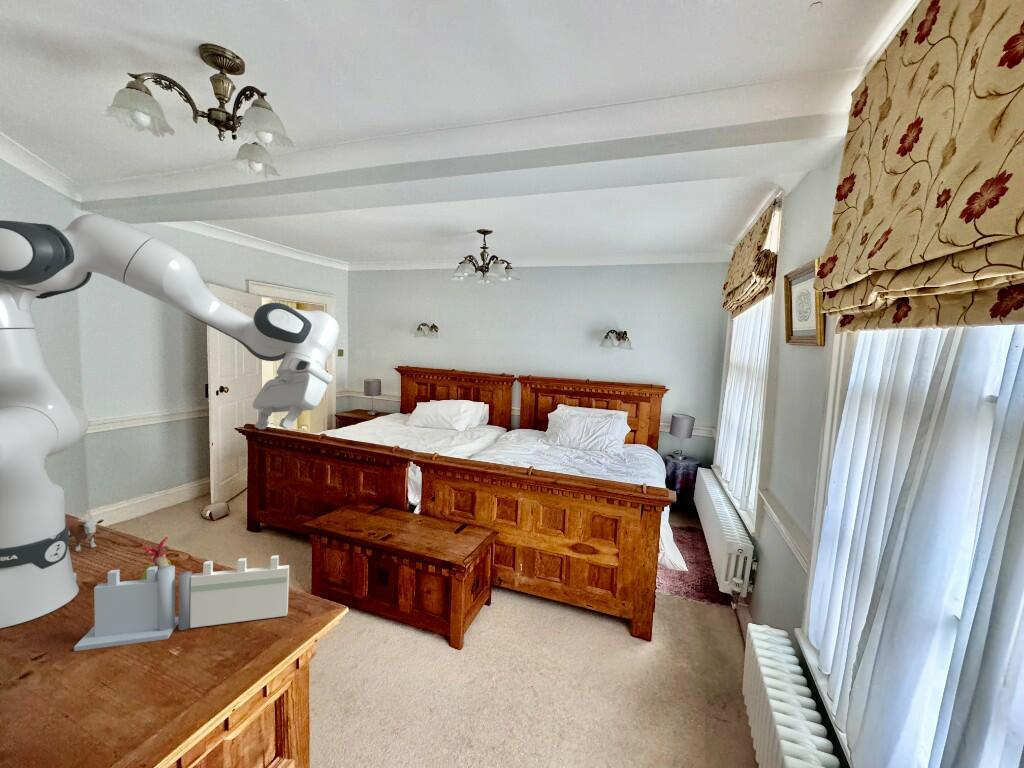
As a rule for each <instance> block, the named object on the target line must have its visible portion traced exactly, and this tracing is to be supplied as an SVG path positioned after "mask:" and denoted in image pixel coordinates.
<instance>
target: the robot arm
mask: <svg viewBox="0 0 1024 768" xmlns="http://www.w3.org/2000/svg"><path fill="white" fill-rule="evenodd" d="M93 273H95V274H100V275H103V276H106V277H108V278H111V279H113V280H115V281H117V282H119V283H121V284H124V285H125V286H128V287H130V288H132V289H135V290H137V291H138V292H140V293H143V294H146V295H148V296H149V297H152V298H155V300H159V301H161V302H163V303H165V304H167V305H169V306H170V307H172V308H175V309H176V310H179V311H181V312H182V313H184V314H187V315H188V316H189V317H191V318H194V319H196V320H197V321H199V322H201V323H203V324H205V325H207V326H209V327H211V328H212V329H214V330H216V331H218V332H220V333H222V334H225V335H226V336H228V337H230V338H232V339H234V340H235V341H237V342H238V343H240V344H241V345H242V346H244V348H245V349H246V350H247V351H248V352H250V354H251V355H252V356H254V357H256V358H257V359H260V360H261V361H265V362H277V361H281V362H280V364H279V365H278V367H277V369H276V374H277V376H275V378H272V379H269V380H267V381H266V383H264V385H263V386H262V388H261V389H260V390H259V392H258V394H257V396H255V399H254V401H253V403H252V409H255V410H257V411H258V415H257V421H256V423H255V425H254V427H255V428H257V429H259V430H266V429H267V426H268V425H269V421H268V420H269V417H270V416H272V414H273V413H285V412H286V415H285V416H284V417H282V418H281V420H280V422H279V423H278V424H279V427H280V428H283V429H287V430H288V429H291V428H292V426H293V424H294V422H295V421H296V420H297V419H298V418H299V417H300V416H301V415H302V412H303V411H304V412H305V411H314V410H315V409H316V408H317V407H318V406H319V404H320V403H321V400H323V397H324V395H325V393H326V390H327V388H328V385H329V384H331V382H332V380H333V378H334V376H333V375H331V373H329V372H327V371H326V370H325V369H326V363H327V361H328V359H330V358H331V356H332V354H333V353H334V350H335V349H336V346H337V343H338V340H339V337H340V332H341V331H340V330H341V329H340V326H339V324H338V322H337V320H336V319H335V318H334V317H333V316H332V315H330V314H329V313H327V312H325V311H323V310H320V309H319V310H318V309H315V310H302V309H297V308H295V307H294V308H293V307H291V306H288V305H287V304H283V303H280V302H268V303H265V304H263V305H261V306H259V307H258V308H257V309H256V311H255V313H254V314H253V315H254V316H253V317H252V316H249V315H247V314H245V313H244V312H242V311H240V310H238V309H236V308H234V307H233V306H231V305H229V304H227V303H226V302H224V301H223V300H220V299H219V298H218V297H216V296H215V295H214V294H213V293H212V291H210V289H208V286H207V285H206V283H205V282H204V280H203V279H202V277H201V275H200V273H199V271H198V268H197V266H196V265H195V264H194V262H193V261H192V260H191V259H190V258H189V257H188V256H186V255H185V254H184V253H182V252H181V251H180V250H178V249H176V248H175V247H173V246H172V245H170V243H169V244H168V243H167V242H164V241H163V240H160V239H159V238H157V237H155V236H153V235H151V234H149V233H146V232H145V231H144V230H143V231H142V230H140V229H138V228H136V227H134V226H131V225H129V224H126V223H123V222H122V221H118V220H116V219H113V218H110V217H108V216H104V215H101V214H97V213H86V214H83V215H80V216H78V217H76V218H75V219H73V220H72V221H71V222H70V223H69V224H68V226H67V227H66V228H64V229H62V230H59V229H58V228H56V227H55V226H54V225H51V224H48V223H35V222H24V221H16V220H0V629H2V628H7V627H11V626H16V625H18V624H22V623H25V622H28V621H32V620H34V619H37V618H39V617H42V616H45V615H46V614H49V613H51V612H53V611H56V610H57V609H60V608H61V607H63V606H65V605H66V604H68V603H70V602H71V601H72V600H73V599H74V598H75V597H76V596H77V595H78V593H79V591H80V587H79V585H78V583H77V579H78V576H77V575H78V574H77V573H76V572H74V568H73V563H72V558H71V557H72V556H71V552H70V548H69V544H70V543H69V541H70V538H69V535H70V532H69V528H68V525H66V524H65V518H66V502H65V501H66V495H65V494H66V492H65V490H64V488H63V487H62V486H61V485H59V484H58V483H55V482H53V481H52V480H51V478H50V477H49V475H48V473H47V470H46V467H45V460H46V458H47V457H51V456H53V455H56V454H59V453H61V452H64V451H66V450H68V449H70V448H71V447H72V446H73V445H75V444H76V443H78V442H79V441H80V440H81V439H83V437H84V436H85V435H86V434H87V432H88V430H89V428H90V427H89V426H90V421H89V417H88V416H87V414H86V413H85V411H84V410H83V409H82V408H80V407H79V406H78V405H76V404H75V403H72V402H71V401H70V400H69V399H68V398H67V397H66V396H65V395H64V393H63V391H62V390H61V389H60V387H59V386H58V385H57V383H56V381H55V380H54V378H53V376H52V375H51V372H50V370H49V368H48V366H47V363H46V360H45V357H44V354H43V350H42V349H43V348H42V347H41V343H40V340H39V337H38V333H37V329H36V325H35V322H34V318H33V314H32V309H31V308H32V307H31V306H32V302H33V300H34V299H39V300H43V299H47V298H51V297H54V296H55V297H56V296H58V295H61V294H66V293H70V292H74V291H76V290H78V289H81V288H83V287H84V286H86V285H87V284H88V283H89V282H90V280H91V278H92V275H93ZM287 412H288V413H287Z"/></svg>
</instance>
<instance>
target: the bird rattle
mask: <svg viewBox="0 0 1024 768" xmlns="http://www.w3.org/2000/svg"><path fill="white" fill-rule="evenodd" d="M168 539H169V536H165V538H163V539H162V540H161V541H160V543H159V545H158V546H157V548H158V549H155V548H154V547H149V546H143V545H142V546H140V549H141V550H144V551H145V553H146V554H147V555H149V556H150V557H152V563H153V564H149V565H147V566H146V567H145V569H144V571H143V572H142V574H141V576H140V579H139V580H146V579H147V569H148V568H149V567H155V566H158V569H160V568H162V567H164V566H169V565H172V566H174V565H173V564H172V562H171V561H170V560H169V559H168V557H167V555H166V554H165V552H163V550H164V546H165V543H166V542H167V541H168Z"/></svg>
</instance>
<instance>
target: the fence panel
mask: <svg viewBox="0 0 1024 768" xmlns="http://www.w3.org/2000/svg"><path fill="white" fill-rule="evenodd" d="M279 557H280V555H279V554H278V555H276V554H275V555H271V557H270V566H264V567H251V568H247V563H248V562H247V557H241V558H238V560H237V569H229V570H220V571H214V561H213V560H207V561H205V560H204V562H203V564H202V566H203V567H202V568H203V569H202V572H196V573H193V571H192V570H186V571H182V572H181V573H179V574H178V601H177V602H178V604H177V605H178V606H177V607H178V610H177V611H178V616H177V617H178V625H177V627H178V629H177V630H180V631H185V630H188V629H190V628H191V629H193V628H201V627H206V626H207V627H208V626H216V625H217V626H218V625H223V624H232V623H239V622H240V623H241V622H246V621H254V620H255V621H256V620H263V619H270V618H271V619H272V618H279V617H287V615H288V613H289V591H290V590H289V587H290V585H289V584H290V565H289V564H286V565H279V560H280V558H279Z"/></svg>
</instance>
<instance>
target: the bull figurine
mask: <svg viewBox="0 0 1024 768" xmlns="http://www.w3.org/2000/svg"><path fill="white" fill-rule="evenodd" d="M103 522H104V519H100V520H95V519H92V518H84V519H82V518H81V519H78V518H72V517H71V518H70V517H65V524H66V525H68V528H69V532H70V535H69V544H70V543H71V541H70V540H74V539H75V544H76V546H75V548H74V550H75V553H78V552H81V551H82V548H81V544H82V541H84V542H87V541H88V542H89V544H90V545H89V546H90V548H91V549H95V548H94V547H96V548H97V547H98V546H97V544H96V543H95V539H94V534H96V532H97V531H96V529H97V525H99V524H101V523H103Z"/></svg>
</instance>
